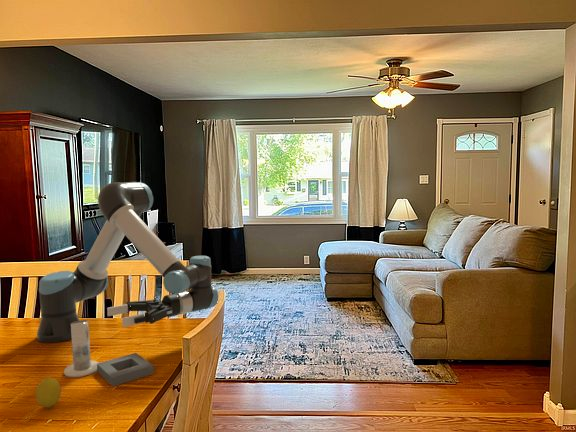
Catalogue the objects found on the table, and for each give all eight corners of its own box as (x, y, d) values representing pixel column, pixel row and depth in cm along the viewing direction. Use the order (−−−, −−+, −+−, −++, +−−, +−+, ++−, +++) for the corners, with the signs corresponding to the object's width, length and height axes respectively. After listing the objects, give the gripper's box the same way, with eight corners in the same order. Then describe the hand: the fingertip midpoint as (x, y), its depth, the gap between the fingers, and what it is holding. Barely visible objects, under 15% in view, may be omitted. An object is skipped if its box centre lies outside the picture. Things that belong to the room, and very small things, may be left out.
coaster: (60, 369, 135) (60, 367, 135) (94, 360, 141) (94, 358, 141) (69, 380, 127) (69, 377, 127) (104, 370, 134) (104, 367, 134)
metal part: (71, 367, 134) (68, 322, 133) (88, 362, 137) (85, 319, 136) (76, 372, 131) (73, 326, 129) (93, 367, 134) (90, 322, 133)
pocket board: (97, 371, 133) (96, 363, 132) (136, 360, 140) (135, 352, 140) (112, 386, 123) (112, 377, 123) (153, 373, 131) (153, 365, 130)
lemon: (51, 414, 109) (48, 383, 108) (31, 412, 110) (29, 381, 109) (66, 402, 114) (64, 373, 114) (48, 401, 115) (46, 371, 115)
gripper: (194, 323, 144) (130, 339, 130) (161, 306, 163) (102, 319, 149) (193, 301, 143) (129, 314, 130) (160, 286, 162) (101, 297, 148)
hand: (114, 317), depth 139 cm, fingers open, 13 cm apart
